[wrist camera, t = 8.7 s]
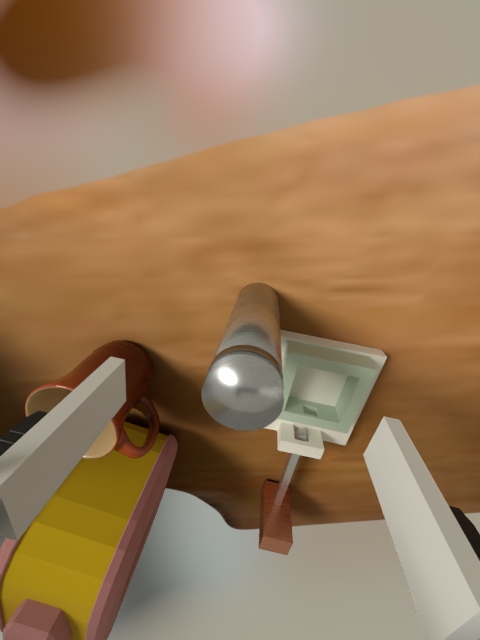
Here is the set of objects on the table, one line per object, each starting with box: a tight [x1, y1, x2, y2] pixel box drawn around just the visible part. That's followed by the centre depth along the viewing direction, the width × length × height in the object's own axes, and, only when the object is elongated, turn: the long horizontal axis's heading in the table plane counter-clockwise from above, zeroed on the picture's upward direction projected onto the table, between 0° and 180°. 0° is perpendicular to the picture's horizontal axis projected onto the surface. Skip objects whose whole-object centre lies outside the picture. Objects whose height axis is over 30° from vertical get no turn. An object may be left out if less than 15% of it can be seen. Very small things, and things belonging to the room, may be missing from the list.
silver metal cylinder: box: [201, 283, 284, 431], centre depth 21 cm, size 4×4×15 cm
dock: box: [264, 330, 387, 459], centre depth 29 cm, size 12×13×4 cm
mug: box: [25, 341, 159, 459], centre depth 28 cm, size 12×9×10 cm
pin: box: [259, 429, 307, 555], centre depth 32 cm, size 4×16×7 cm, turn 171°
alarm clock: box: [0, 422, 178, 640], centre depth 30 cm, size 18×11×19 cm, turn 162°
